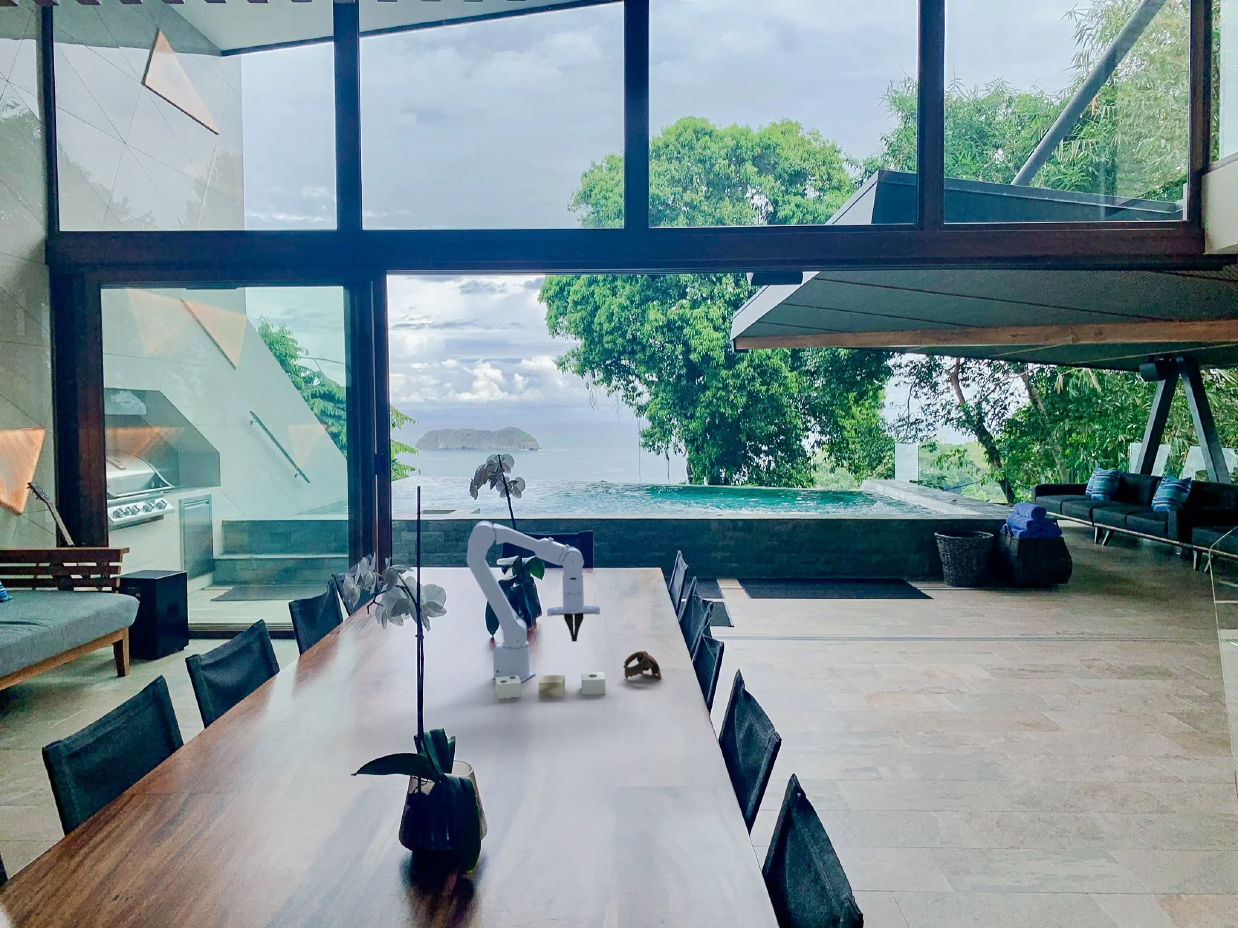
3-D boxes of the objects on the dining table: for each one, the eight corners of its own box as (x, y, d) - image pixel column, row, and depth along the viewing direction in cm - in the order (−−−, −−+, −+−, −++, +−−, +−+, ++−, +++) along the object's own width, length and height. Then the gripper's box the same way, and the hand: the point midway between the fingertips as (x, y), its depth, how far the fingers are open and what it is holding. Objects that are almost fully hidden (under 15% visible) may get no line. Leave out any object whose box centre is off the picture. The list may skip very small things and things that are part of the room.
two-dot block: (498, 699, 217) (497, 683, 217) (495, 692, 223) (495, 676, 223) (521, 697, 219) (521, 681, 218) (518, 690, 224) (518, 674, 224)
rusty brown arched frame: (664, 684, 227) (650, 660, 225) (633, 699, 229) (618, 675, 227) (663, 660, 239) (649, 637, 237) (633, 674, 240) (619, 651, 238)
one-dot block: (582, 695, 219) (581, 679, 219) (581, 687, 225) (581, 672, 225) (605, 694, 220) (605, 678, 219) (604, 686, 226) (603, 671, 225)
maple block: (539, 697, 218) (538, 682, 218) (542, 690, 224) (542, 675, 224) (562, 697, 218) (562, 682, 217) (565, 690, 224) (564, 675, 223)
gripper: (546, 596, 231) (547, 645, 232) (600, 594, 232) (601, 643, 233) (546, 590, 238) (548, 638, 239) (598, 588, 239) (599, 636, 240)
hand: (574, 640), depth 236 cm, fingers closed
